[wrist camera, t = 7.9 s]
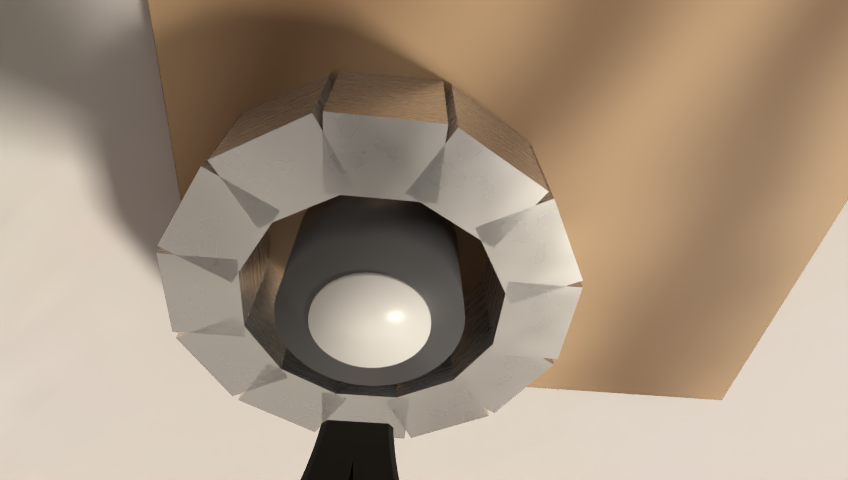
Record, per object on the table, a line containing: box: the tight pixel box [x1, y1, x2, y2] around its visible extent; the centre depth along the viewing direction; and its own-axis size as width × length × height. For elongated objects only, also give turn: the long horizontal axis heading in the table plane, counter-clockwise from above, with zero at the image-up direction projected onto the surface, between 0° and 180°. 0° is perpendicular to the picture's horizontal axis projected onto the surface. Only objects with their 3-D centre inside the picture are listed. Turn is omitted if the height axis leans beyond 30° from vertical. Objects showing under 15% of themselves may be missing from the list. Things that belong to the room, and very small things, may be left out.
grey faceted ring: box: [156, 70, 583, 438], centre depth 16 cm, size 11×11×3 cm
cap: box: [274, 195, 465, 386], centre depth 16 cm, size 5×5×4 cm
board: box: [148, 0, 848, 400], centre depth 15 cm, size 20×20×1 cm
